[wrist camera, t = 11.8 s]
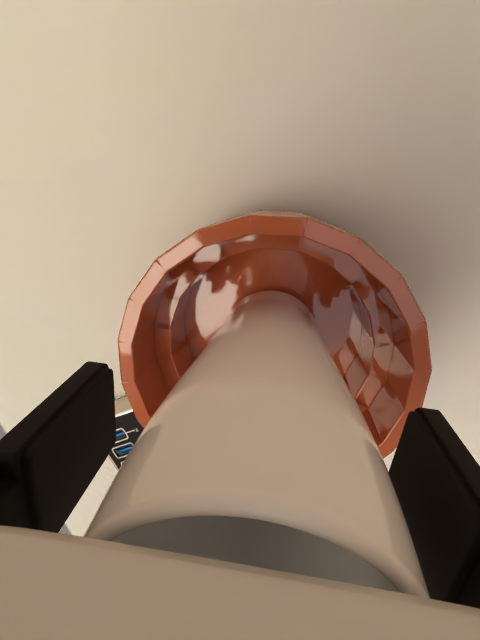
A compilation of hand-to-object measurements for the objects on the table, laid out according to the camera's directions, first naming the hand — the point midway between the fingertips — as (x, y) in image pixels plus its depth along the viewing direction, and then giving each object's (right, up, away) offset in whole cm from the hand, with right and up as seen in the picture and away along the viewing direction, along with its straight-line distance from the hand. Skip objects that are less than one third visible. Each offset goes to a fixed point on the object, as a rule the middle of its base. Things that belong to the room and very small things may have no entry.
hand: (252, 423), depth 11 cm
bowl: (+1, +3, +10) cm, 10 cm away
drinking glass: (+1, +3, +9) cm, 10 cm away
